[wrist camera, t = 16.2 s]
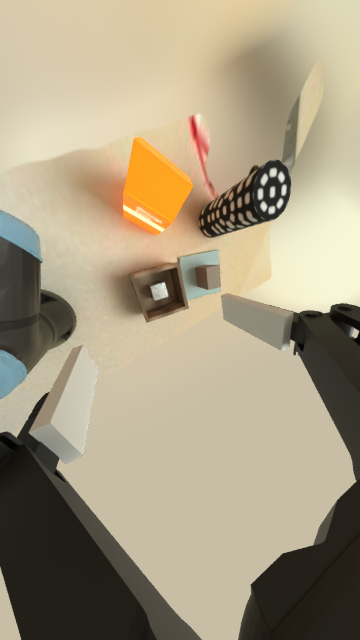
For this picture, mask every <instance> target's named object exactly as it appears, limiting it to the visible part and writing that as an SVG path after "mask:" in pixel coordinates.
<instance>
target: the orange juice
mask: <svg viewBox="0 0 360 640" xmlns="http://www.w3.org/2000/svg"><path fill="white" fill-rule="evenodd" d="M192 187H193V185H192V183H191V180H190V178H189V177H188V176H187V175H186V174H185V173H184V172H182V171H181V170H180V169H179V168H178V167H176V166H175V165H174V164H173V163H171V162H170V161H169V160H168V159H167V158H165V157H164V156H163V155H162V154H161V153H159V152H158V151H157V150H156V149H155V148H153V147H152V146H151V145H150V144H149V143H147V142H146V141H145V140H144V139H142V138H141V137H138V138H134V141H133V147H132V152H131V157H130V162H129V168H128V173H127V178H126V184H125V188H124V191H123V198H124V204H123V209H124V218H126V219H128V220H130V221H131V222H133V223H135V224H137V225H138V226H140V227H142V228H144V229H146V230H147V231H149V232H151V233H153V234H154V235H156V236H157V235H158V234H160V233H161V232H162V231H164V230H165V229H166V228H167V227H168V226H169V225H170V224H172V223H173V220H174V219H175V217H176V215H177V213H178V212H179V210H180V208H181V206H182V205H183V203H184V201H185V200H186V198H187V196H188V194H189V193H190V191H191V189H192Z"/></svg>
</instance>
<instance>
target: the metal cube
mask: <svg viewBox="0 0 360 640" xmlns="http://www.w3.org/2000/svg"><path fill="white" fill-rule="evenodd" d="M148 286H149V289H150V292H151V295H152V298H153V299H154V301H156V300H159V299H162V298H165V297H168V293H167V289H166V285H165V282H163V281H159V282H155V283H152V284H148Z"/></svg>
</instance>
